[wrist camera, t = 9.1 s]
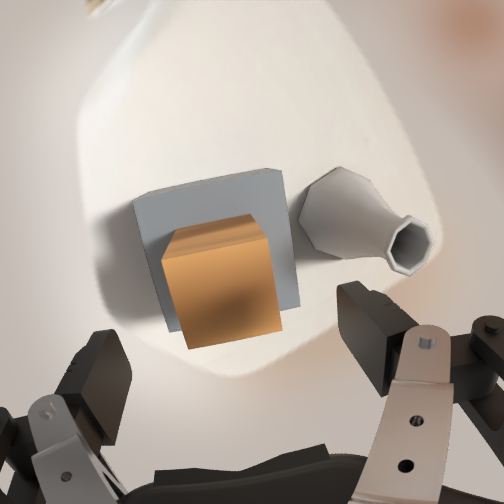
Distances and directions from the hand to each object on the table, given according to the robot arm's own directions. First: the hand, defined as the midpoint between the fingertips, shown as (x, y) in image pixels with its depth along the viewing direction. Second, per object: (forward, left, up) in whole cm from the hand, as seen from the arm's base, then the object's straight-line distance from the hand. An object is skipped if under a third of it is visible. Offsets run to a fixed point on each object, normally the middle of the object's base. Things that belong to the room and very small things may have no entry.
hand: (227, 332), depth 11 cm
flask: (0, +10, -14) cm, 18 cm away
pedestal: (0, 0, -14) cm, 14 cm away
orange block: (0, 0, -9) cm, 9 cm away
